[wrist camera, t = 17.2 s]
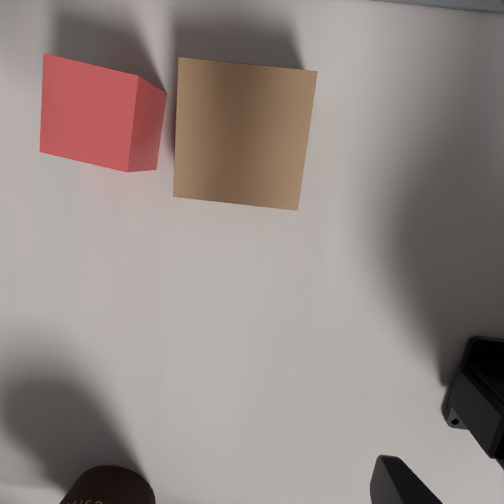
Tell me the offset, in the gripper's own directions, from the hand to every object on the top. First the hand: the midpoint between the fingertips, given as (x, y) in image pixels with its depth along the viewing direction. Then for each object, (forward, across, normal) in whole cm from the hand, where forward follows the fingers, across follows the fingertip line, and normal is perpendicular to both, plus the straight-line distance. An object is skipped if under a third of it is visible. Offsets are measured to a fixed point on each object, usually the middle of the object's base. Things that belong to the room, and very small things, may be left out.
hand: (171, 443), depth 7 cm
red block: (+11, +5, -7) cm, 14 cm away
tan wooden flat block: (+13, 0, -7) cm, 15 cm away
